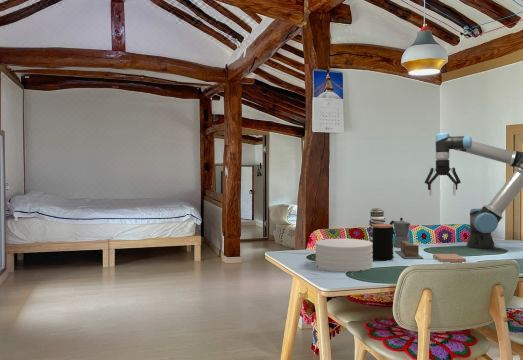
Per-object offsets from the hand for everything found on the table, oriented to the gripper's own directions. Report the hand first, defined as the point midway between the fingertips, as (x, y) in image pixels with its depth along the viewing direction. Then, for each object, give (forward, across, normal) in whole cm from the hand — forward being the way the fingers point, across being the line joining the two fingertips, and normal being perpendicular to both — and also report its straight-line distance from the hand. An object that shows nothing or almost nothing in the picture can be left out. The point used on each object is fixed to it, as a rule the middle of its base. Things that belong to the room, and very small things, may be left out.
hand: (442, 195), depth 276 cm
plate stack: (+32, -64, -47) cm, 85 cm away
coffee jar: (+32, -41, -30) cm, 60 cm away
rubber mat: (+32, -25, -20) cm, 45 cm away
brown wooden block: (+31, -25, -18) cm, 44 cm away
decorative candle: (+32, -40, -9) cm, 52 cm away
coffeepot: (+32, -23, +8) cm, 40 cm away
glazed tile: (+31, -8, -27) cm, 42 cm away
